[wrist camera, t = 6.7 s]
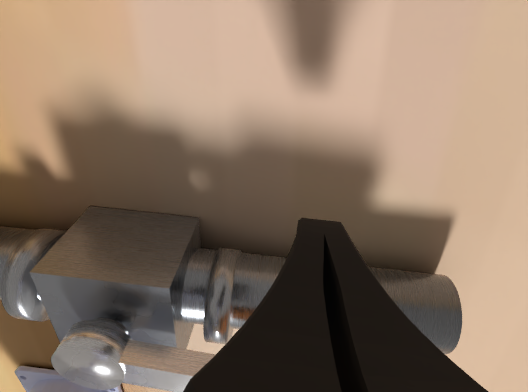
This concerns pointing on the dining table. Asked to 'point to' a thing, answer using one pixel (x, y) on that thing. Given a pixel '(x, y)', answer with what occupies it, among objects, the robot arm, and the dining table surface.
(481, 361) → the dining table surface
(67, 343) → the valve lever
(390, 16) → the dining table surface
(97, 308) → the valve pipe
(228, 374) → the robot arm
